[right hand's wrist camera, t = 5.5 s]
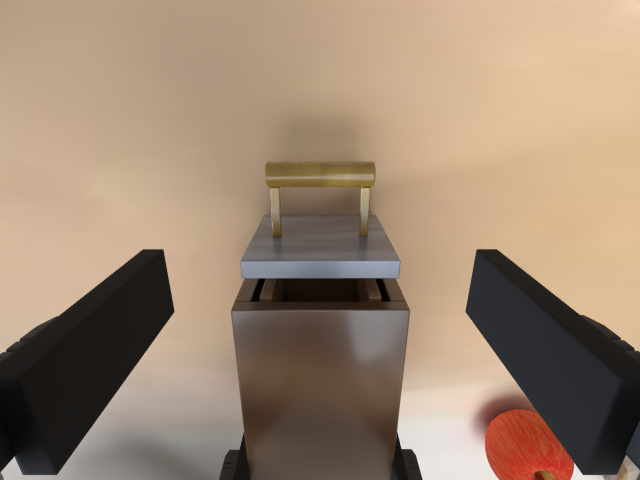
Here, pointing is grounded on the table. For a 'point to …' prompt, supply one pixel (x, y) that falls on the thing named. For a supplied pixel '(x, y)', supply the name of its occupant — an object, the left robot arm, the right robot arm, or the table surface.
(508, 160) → the table surface
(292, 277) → the drawer
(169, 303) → the right robot arm
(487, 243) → the table surface
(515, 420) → the apple
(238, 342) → the cabinet
